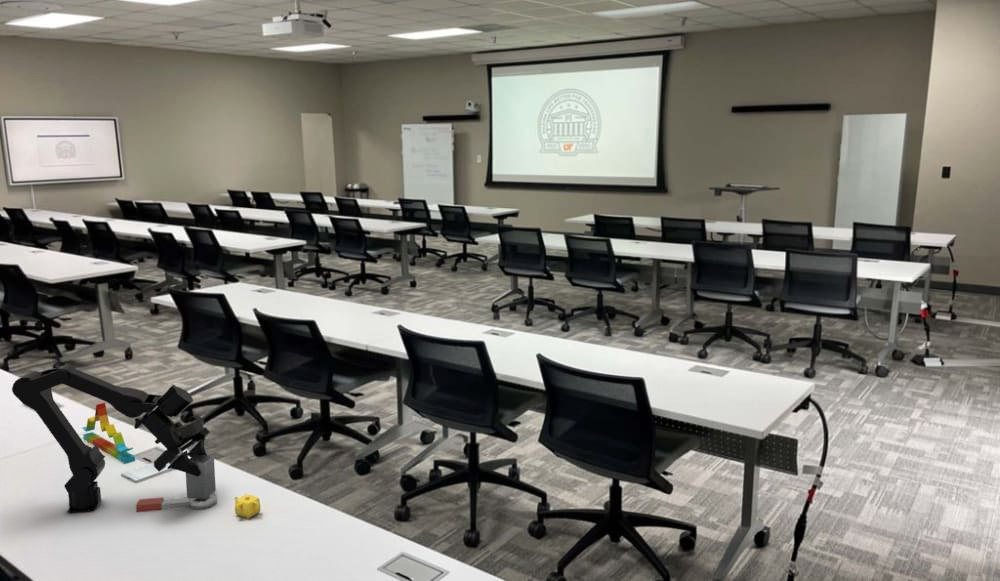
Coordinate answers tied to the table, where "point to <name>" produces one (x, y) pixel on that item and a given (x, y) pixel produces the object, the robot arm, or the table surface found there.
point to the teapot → (247, 506)
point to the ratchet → (175, 503)
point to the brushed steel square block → (201, 478)
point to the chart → (114, 450)
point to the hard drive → (144, 473)
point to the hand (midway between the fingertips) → (204, 471)
